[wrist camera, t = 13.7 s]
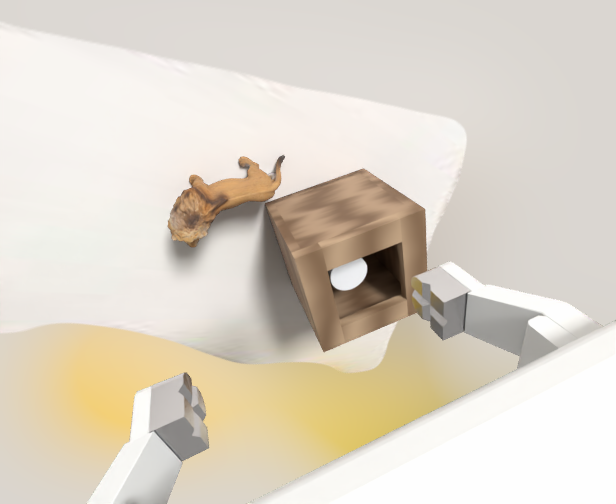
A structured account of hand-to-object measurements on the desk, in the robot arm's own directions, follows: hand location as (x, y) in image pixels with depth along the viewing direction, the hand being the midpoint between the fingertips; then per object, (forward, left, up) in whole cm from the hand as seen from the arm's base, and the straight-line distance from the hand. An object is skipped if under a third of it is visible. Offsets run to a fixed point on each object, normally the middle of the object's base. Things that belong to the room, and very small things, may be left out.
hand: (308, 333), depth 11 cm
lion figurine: (-1, -6, -32) cm, 33 cm away
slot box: (+9, -17, -32) cm, 37 cm away
